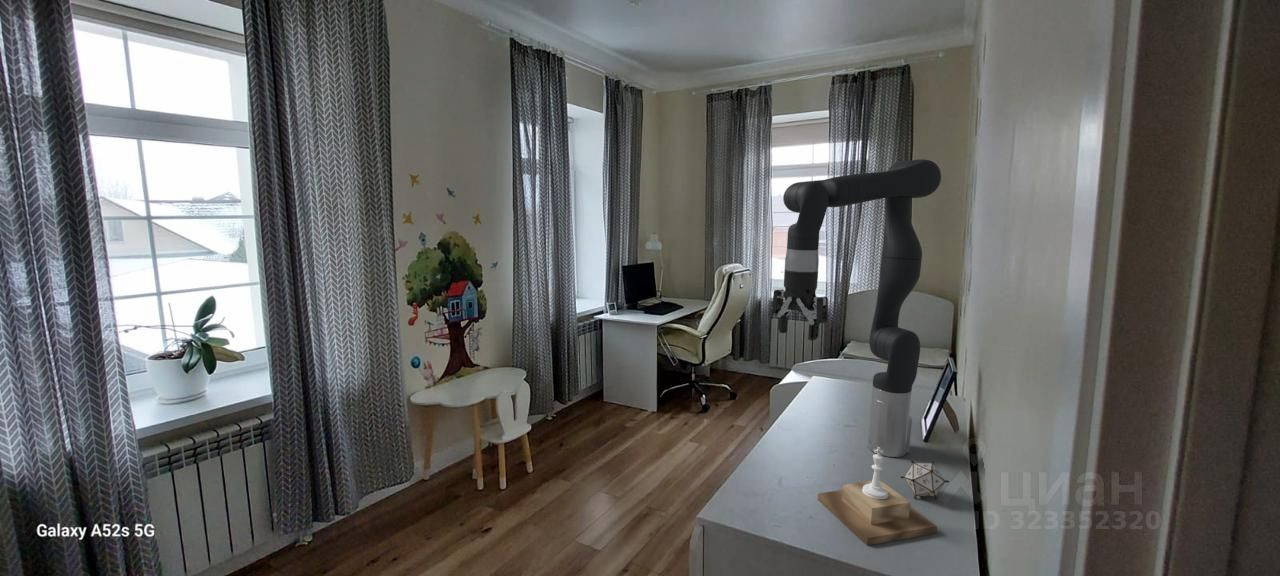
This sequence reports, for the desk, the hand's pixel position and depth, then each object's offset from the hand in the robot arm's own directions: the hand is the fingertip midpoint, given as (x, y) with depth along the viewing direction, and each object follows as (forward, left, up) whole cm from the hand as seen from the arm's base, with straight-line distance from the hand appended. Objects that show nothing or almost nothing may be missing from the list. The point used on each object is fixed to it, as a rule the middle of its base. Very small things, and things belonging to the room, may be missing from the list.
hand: (797, 336), depth 123 cm
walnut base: (-6, +23, -33) cm, 41 cm away
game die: (-22, +19, -33) cm, 44 cm away
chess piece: (-6, +23, -28) cm, 37 cm away
